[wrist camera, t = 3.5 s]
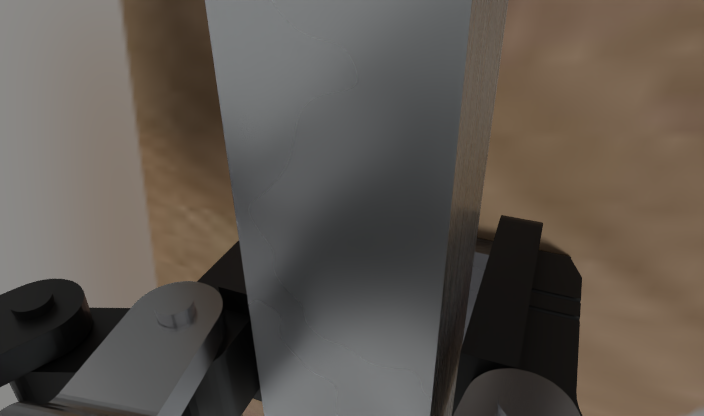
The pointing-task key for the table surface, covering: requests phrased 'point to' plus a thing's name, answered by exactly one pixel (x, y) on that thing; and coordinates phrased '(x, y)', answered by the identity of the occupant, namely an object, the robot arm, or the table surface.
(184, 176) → the table surface
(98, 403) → the robot arm
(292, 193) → the steel rail
